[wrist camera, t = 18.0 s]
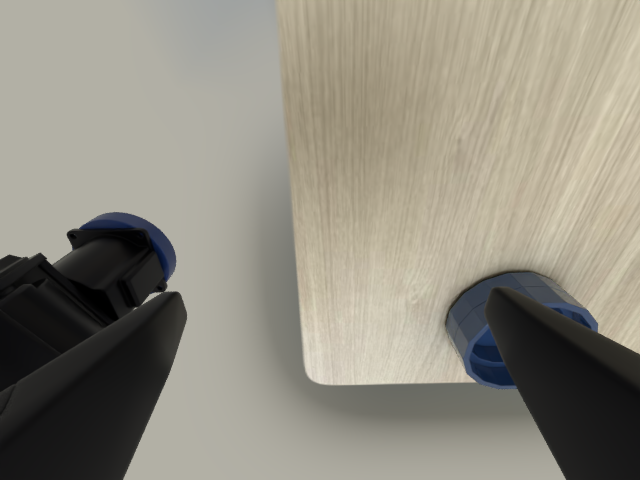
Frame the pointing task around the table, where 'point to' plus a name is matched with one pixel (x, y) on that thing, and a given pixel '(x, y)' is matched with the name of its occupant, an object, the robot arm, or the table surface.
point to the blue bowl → (476, 336)
